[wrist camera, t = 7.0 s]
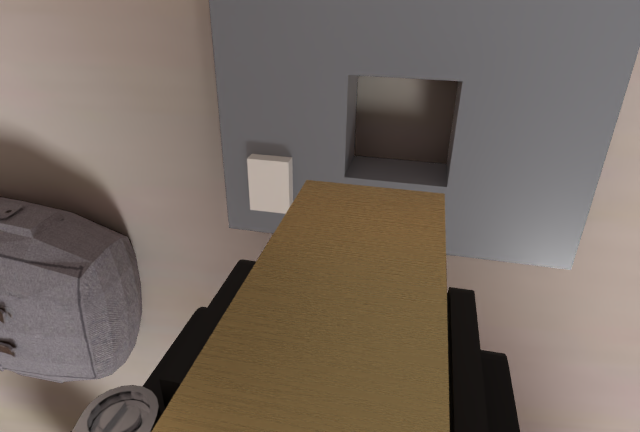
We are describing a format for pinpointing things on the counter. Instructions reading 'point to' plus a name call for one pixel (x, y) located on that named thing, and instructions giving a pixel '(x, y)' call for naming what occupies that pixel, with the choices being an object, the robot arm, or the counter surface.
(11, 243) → the soft grey pack
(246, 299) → the plug
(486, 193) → the socket
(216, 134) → the counter surface
